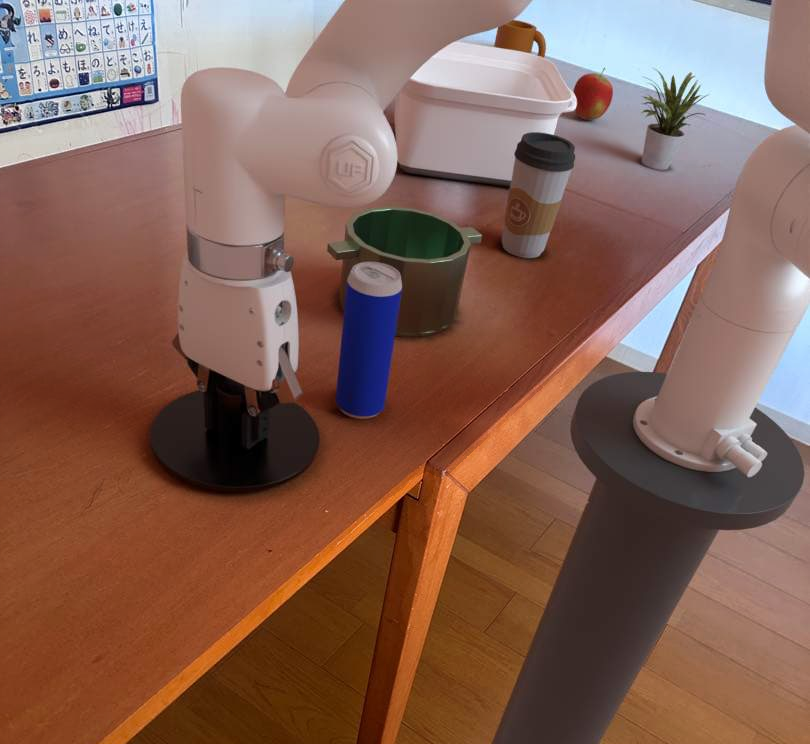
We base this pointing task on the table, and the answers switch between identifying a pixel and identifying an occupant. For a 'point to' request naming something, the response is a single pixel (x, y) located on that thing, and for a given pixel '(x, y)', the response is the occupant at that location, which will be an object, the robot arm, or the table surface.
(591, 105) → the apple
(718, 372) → the robot arm
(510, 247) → the coffee cup
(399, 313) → the cooker pot
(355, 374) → the beverage can
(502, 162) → the white storage tub
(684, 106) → the house plant
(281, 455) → the lid
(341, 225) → the table surface
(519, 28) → the mug
